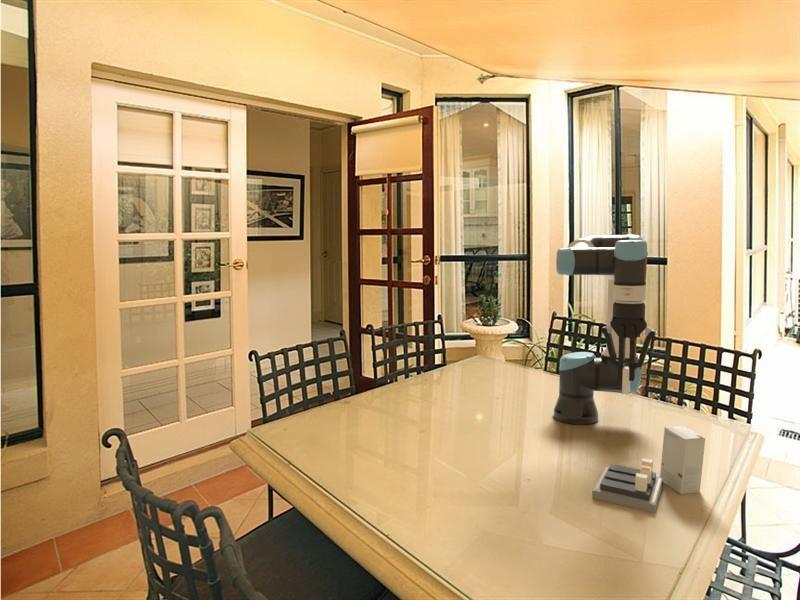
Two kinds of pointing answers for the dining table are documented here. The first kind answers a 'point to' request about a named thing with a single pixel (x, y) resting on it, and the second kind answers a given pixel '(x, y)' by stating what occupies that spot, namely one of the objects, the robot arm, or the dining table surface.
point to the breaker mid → (646, 472)
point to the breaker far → (647, 462)
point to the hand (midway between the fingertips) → (626, 392)
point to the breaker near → (641, 482)
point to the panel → (628, 499)
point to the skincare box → (682, 459)
